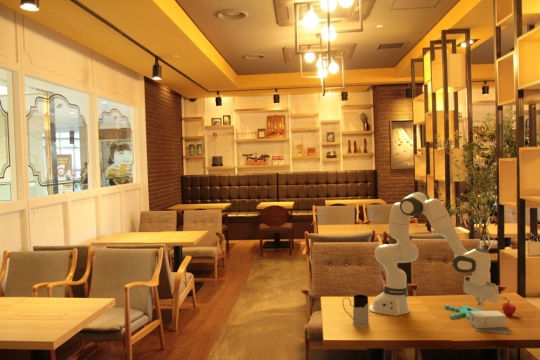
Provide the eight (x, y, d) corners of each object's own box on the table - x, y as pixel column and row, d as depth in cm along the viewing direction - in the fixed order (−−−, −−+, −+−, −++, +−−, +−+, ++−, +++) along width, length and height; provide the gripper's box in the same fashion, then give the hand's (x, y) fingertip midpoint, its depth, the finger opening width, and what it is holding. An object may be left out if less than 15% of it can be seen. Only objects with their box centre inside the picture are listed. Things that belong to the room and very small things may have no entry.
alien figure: (450, 320, 258) (489, 322, 254) (450, 316, 258) (489, 318, 254) (444, 308, 278) (481, 310, 274) (444, 304, 278) (481, 306, 274)
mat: (476, 331, 240) (476, 330, 240) (472, 322, 253) (472, 321, 253) (510, 334, 235) (510, 334, 235) (505, 325, 248) (505, 324, 248)
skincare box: (476, 328, 243) (506, 328, 243) (476, 315, 243) (506, 315, 243) (469, 322, 252) (498, 322, 252) (469, 310, 251) (498, 310, 251)
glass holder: (367, 328, 246) (367, 299, 245) (341, 325, 251) (340, 297, 250) (370, 322, 254) (370, 295, 254) (344, 319, 259) (344, 292, 259)
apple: (511, 313, 267) (511, 295, 266) (518, 317, 260) (518, 299, 259) (498, 313, 267) (498, 296, 266) (504, 317, 260) (504, 299, 259)
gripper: (502, 284, 236) (502, 311, 237) (470, 274, 255) (470, 300, 255) (493, 285, 233) (493, 313, 234) (461, 276, 252) (461, 301, 253)
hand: (480, 306), depth 245 cm, fingers closed
